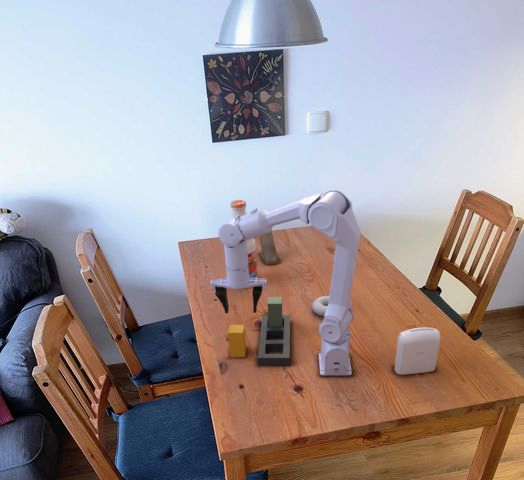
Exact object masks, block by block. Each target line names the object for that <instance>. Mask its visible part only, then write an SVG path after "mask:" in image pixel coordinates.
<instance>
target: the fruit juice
mask: <svg viewBox="0 0 524 480" xmlns="http://www.w3.org/2000/svg"><path fill="white" fill-rule="evenodd" d="M230 208H231V215H230V219H229V220H231V219H232V218H234V217H236V216H238V215H240V216H244V215H246V214H248V213H247V209H246V208H247V202H246V200H243V199H236V200H231V201H230ZM247 255H248V269H249V277H253V278H259V277H258V264H257V262H258V261H257V246H256V240H255V238H252V239H249V240H247Z"/></svg>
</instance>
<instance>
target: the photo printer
mask: <svg viewBox="0 0 524 480" xmlns="http://www.w3.org/2000/svg"><path fill="white" fill-rule="evenodd" d="M396 344H397V345H396V351H395V361H394V372H395V373H396V374H397V375H400V376H402V375H405V376H406V375H416V374H423V373H430V372H434V371H435V369H436V365H437V359H438V356H439V355H438V354H439V349H440V344H441V333H440V331H439V329H438V328H434V327H426V326H424V327H414V328H409V329H407V330H404V331H401V332H399V334H398V336H397V343H396Z"/></svg>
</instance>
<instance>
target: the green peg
mask: <svg viewBox="0 0 524 480" xmlns="http://www.w3.org/2000/svg"><path fill="white" fill-rule="evenodd" d="M267 315H268V327H284V325H283V315H284V313H283V296H267Z"/></svg>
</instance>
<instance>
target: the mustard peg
mask: <svg viewBox="0 0 524 480" xmlns="http://www.w3.org/2000/svg"><path fill="white" fill-rule="evenodd" d="M227 337H228V346H229V356H230V358H246V353H247V344H246V343H247V342H246V330H245V324H229V325H228V331H227Z"/></svg>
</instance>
